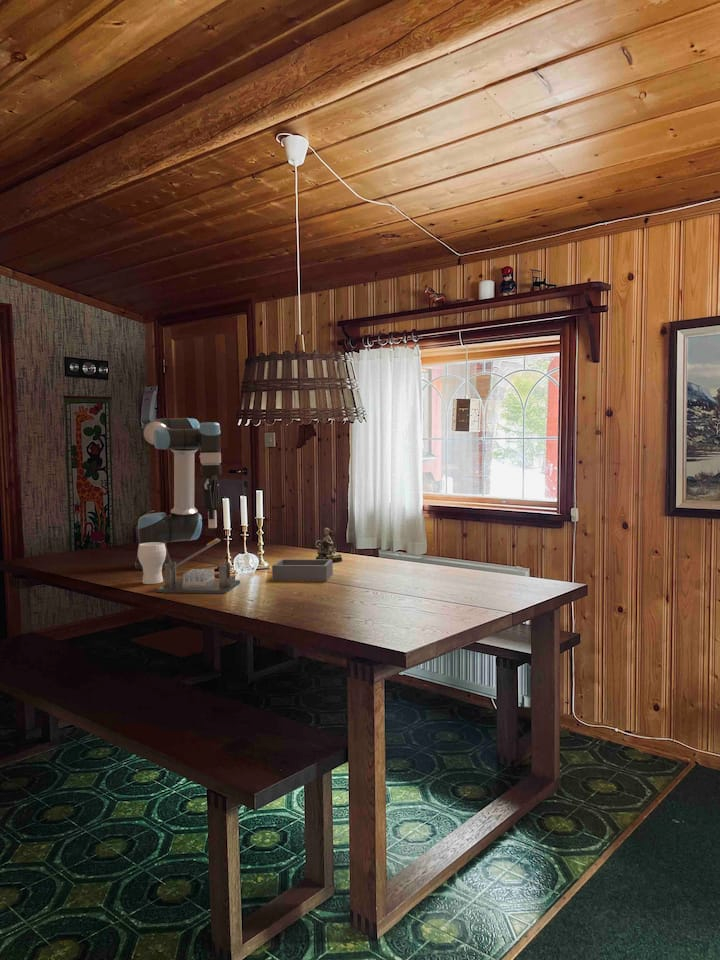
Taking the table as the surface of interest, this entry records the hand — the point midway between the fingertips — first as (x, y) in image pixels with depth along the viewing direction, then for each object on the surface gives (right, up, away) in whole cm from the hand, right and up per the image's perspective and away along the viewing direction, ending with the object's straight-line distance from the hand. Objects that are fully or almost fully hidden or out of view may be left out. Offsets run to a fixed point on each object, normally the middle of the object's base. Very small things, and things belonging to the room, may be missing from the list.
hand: (212, 527), depth 270 cm
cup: (-26, -22, +14) cm, 37 cm away
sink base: (-5, -23, +2) cm, 23 cm away
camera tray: (+32, -21, +19) cm, 43 cm away
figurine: (+41, -19, +56) cm, 71 cm away
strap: (-7, -11, +2) cm, 13 cm away
